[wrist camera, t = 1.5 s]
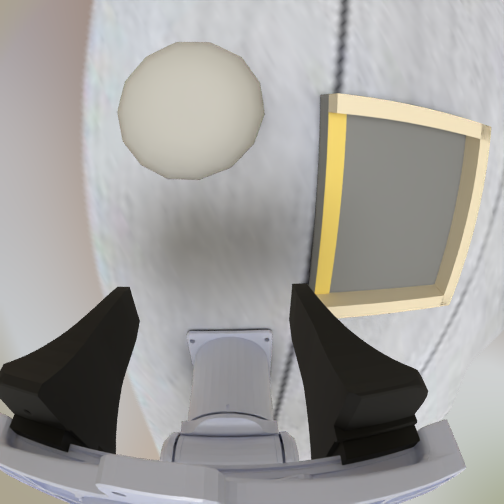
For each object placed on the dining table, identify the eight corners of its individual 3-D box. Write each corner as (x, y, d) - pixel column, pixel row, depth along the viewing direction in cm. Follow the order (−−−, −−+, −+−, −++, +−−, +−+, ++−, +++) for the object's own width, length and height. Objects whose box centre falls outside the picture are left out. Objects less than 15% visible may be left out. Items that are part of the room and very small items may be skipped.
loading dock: (430, 282, 26) (449, 304, 23) (308, 291, 26) (317, 319, 22) (462, 120, 18) (491, 127, 15) (320, 94, 18) (337, 93, 15)
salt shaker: (159, 99, 18) (51, 102, 6) (229, 51, 16) (214, -27, 5) (207, 164, 20) (165, 250, 9) (277, 119, 19) (335, 142, 7)
